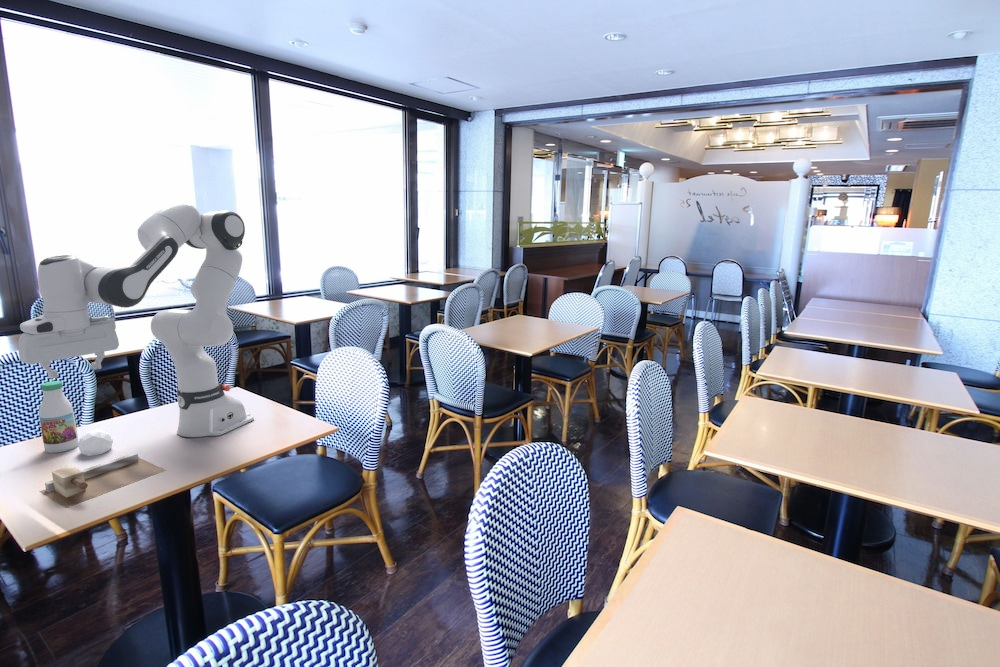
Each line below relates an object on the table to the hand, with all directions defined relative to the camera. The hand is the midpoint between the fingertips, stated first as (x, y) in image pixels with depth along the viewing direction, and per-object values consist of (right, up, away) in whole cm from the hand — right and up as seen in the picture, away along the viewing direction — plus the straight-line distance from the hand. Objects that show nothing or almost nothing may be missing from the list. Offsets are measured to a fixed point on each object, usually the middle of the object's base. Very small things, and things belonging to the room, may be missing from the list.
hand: (75, 373), depth 135 cm
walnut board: (+10, -28, -2) cm, 30 cm away
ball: (-5, -25, +14) cm, 29 cm away
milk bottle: (-19, -24, +18) cm, 35 cm away
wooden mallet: (+7, -28, -9) cm, 31 cm away
